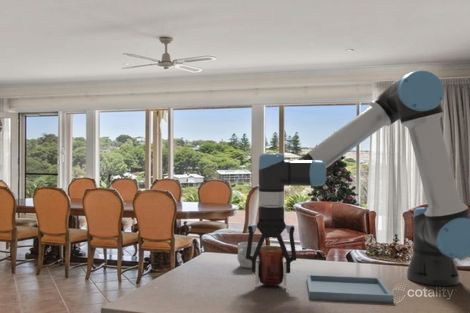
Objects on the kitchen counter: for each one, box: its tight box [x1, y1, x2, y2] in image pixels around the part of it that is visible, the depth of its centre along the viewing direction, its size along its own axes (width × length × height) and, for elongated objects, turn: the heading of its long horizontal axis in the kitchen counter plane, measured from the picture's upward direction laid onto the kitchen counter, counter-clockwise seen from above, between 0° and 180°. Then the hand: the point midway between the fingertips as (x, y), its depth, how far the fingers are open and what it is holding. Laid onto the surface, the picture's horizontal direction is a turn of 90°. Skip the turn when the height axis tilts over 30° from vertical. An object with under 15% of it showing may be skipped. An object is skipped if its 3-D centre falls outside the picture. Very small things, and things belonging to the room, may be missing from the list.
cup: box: [236, 241, 259, 269], centre depth 154 cm, size 11×8×8 cm
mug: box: [258, 245, 285, 287], centre depth 130 cm, size 12×9×10 cm
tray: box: [306, 274, 395, 304], centre depth 127 cm, size 22×18×2 cm
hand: (271, 283), depth 130 cm, fingers closed on mug, 7 cm apart
